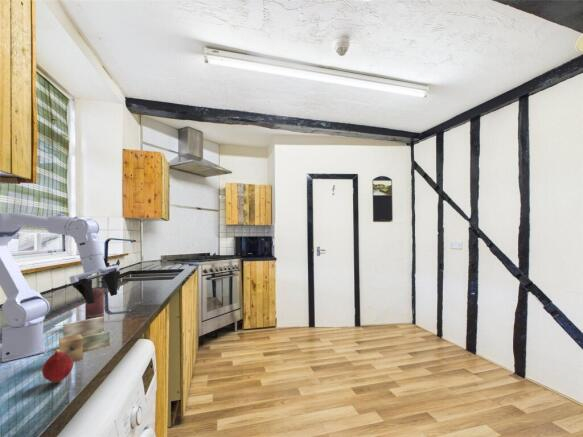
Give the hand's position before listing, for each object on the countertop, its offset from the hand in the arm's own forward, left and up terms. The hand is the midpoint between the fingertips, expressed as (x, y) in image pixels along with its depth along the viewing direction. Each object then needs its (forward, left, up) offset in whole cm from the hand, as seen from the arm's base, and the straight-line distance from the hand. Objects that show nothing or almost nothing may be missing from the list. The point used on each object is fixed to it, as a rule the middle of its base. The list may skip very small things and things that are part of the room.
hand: (103, 299), depth 90 cm
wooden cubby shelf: (-3, +8, -16) cm, 18 cm away
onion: (-12, -15, -16) cm, 25 cm away
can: (+3, +32, -16) cm, 36 cm away
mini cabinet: (-8, -1, -16) cm, 18 cm away
